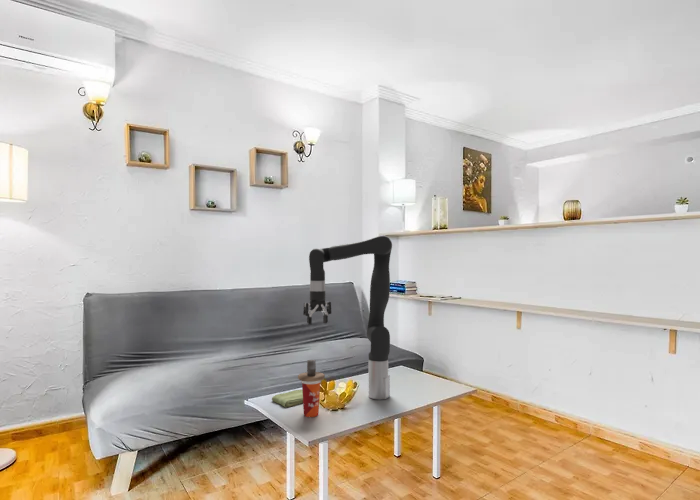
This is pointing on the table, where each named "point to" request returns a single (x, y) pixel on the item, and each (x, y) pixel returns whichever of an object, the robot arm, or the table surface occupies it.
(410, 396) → the table surface
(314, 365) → the walnut lid
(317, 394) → the coffee cup
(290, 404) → the washcloth
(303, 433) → the table surface
